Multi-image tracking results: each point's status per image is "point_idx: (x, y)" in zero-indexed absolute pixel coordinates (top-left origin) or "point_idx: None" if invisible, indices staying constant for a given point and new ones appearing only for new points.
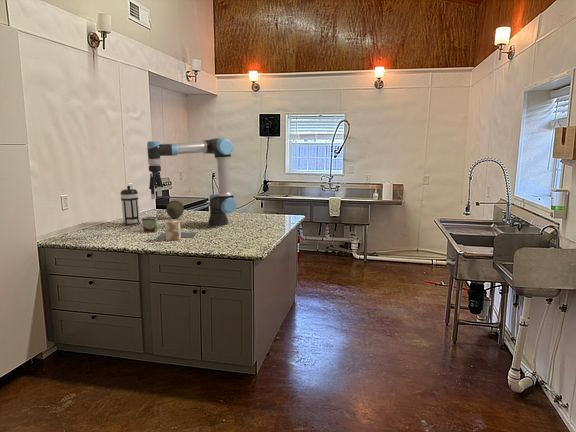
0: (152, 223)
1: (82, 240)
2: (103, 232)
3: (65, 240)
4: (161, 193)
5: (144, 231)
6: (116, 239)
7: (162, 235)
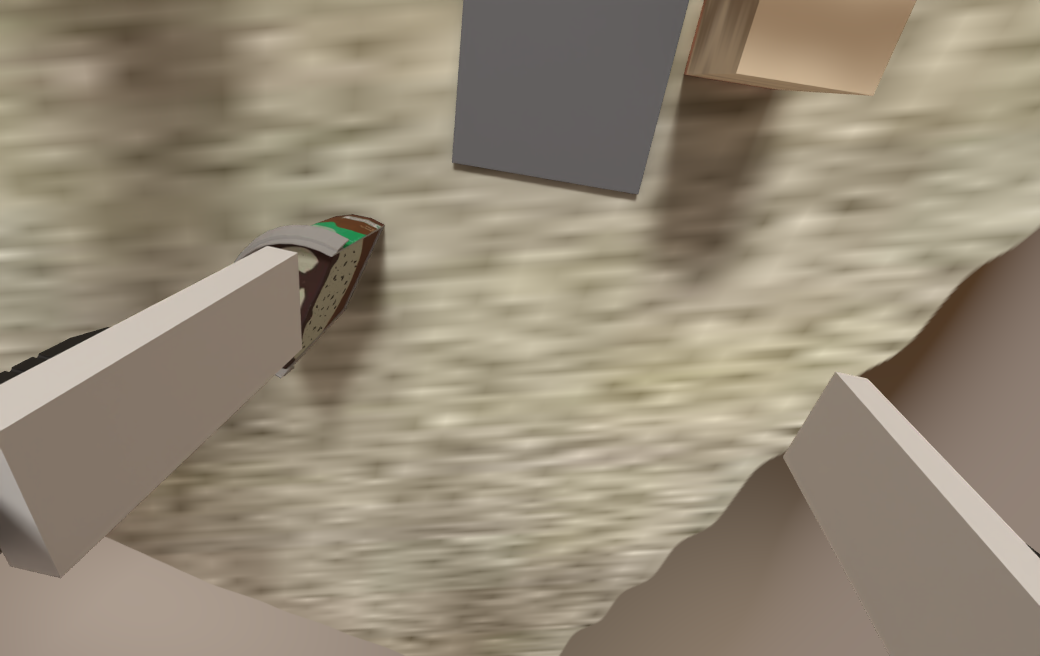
0: (341, 267)
1: (524, 579)
2: (342, 517)
3: (501, 628)
4: (230, 281)
5: (345, 307)
6: (555, 449)
7: (551, 146)
